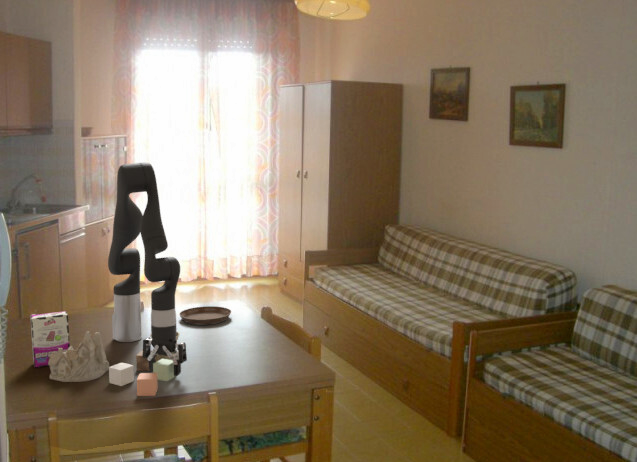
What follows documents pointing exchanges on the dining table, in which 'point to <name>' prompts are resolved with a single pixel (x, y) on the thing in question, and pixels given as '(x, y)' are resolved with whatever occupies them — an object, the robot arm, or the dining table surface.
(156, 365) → the sage cube
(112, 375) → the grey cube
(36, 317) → the candy bar box
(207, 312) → the plant saucer
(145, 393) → the terracotta cube
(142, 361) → the walnut cube
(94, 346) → the ceramic cottage
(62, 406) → the dining table surface
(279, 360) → the dining table surface
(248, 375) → the dining table surface
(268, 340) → the dining table surface
